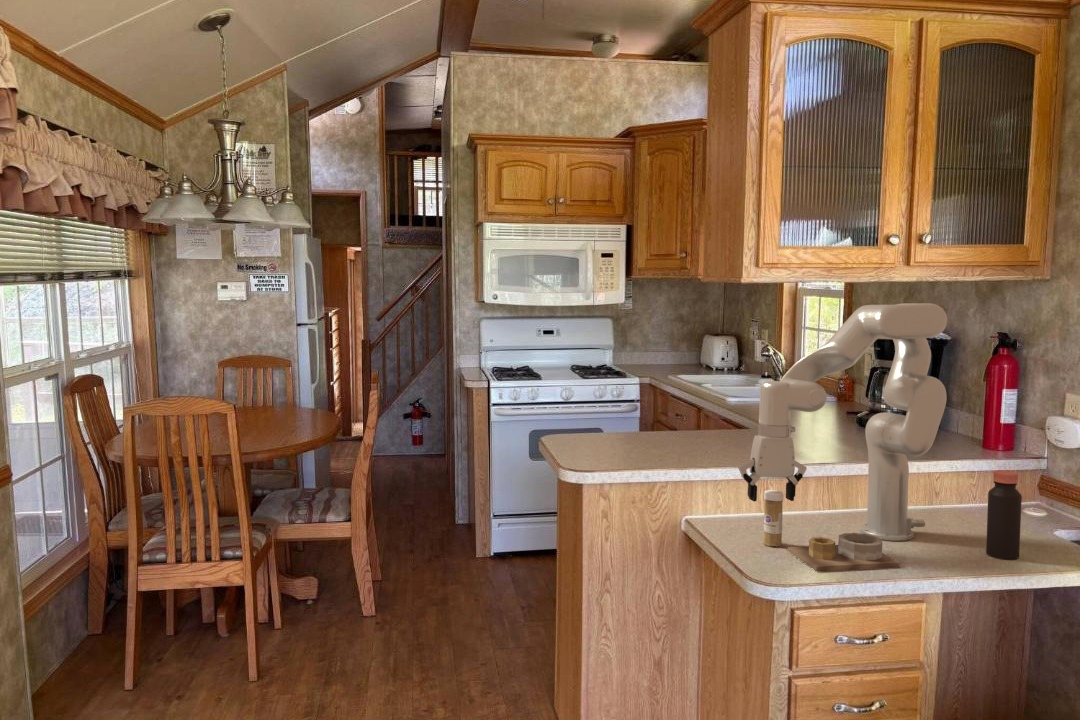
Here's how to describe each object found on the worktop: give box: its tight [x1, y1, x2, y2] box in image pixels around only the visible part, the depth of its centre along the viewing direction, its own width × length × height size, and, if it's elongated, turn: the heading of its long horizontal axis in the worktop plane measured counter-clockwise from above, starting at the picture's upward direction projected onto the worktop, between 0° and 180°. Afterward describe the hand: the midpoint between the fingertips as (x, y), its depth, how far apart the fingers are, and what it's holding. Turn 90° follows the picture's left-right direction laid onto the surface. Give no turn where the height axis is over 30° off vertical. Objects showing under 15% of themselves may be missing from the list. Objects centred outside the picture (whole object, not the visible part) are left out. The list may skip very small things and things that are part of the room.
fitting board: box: [787, 532, 900, 572], centre depth 179 cm, size 20×14×5 cm
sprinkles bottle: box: [762, 489, 784, 548], centre depth 190 cm, size 5×5×14 cm
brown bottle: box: [985, 469, 1023, 561], centre depth 181 cm, size 7×7×20 cm
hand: (771, 499), depth 190 cm, fingers open, 9 cm apart
